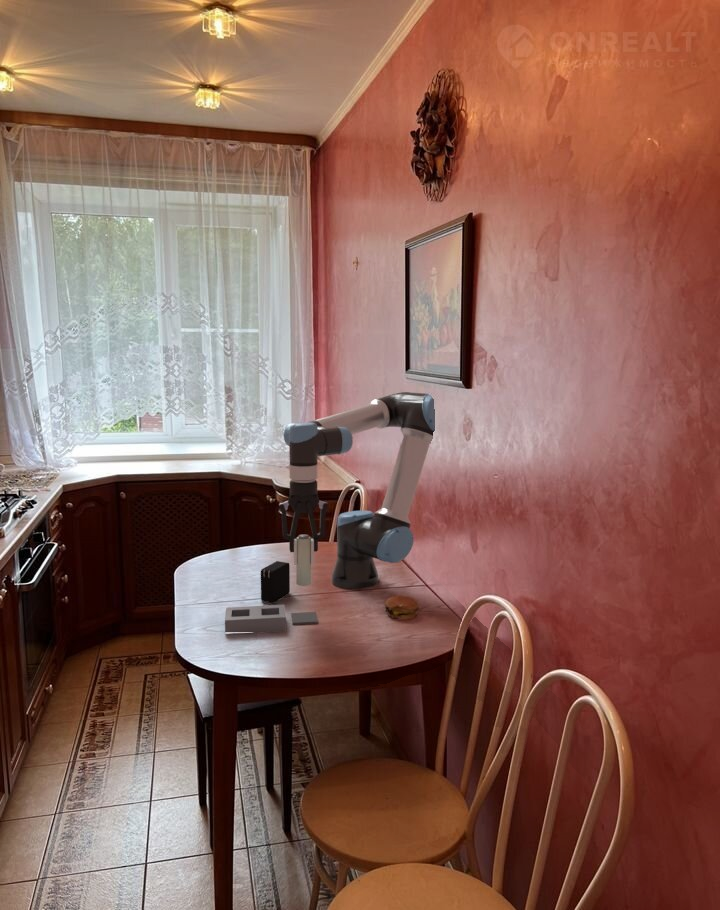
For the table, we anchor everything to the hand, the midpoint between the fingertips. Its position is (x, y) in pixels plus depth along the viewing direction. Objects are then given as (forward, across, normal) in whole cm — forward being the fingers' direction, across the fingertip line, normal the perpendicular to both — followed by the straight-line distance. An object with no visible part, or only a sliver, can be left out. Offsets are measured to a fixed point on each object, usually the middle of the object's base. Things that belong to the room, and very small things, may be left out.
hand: (303, 562), depth 187 cm
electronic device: (+17, +7, -18) cm, 26 cm away
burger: (+17, -28, 0) cm, 33 cm away
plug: (+6, 0, 0) cm, 6 cm away
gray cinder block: (+17, +13, +3) cm, 21 cm away
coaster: (+17, 0, 0) cm, 17 cm away
